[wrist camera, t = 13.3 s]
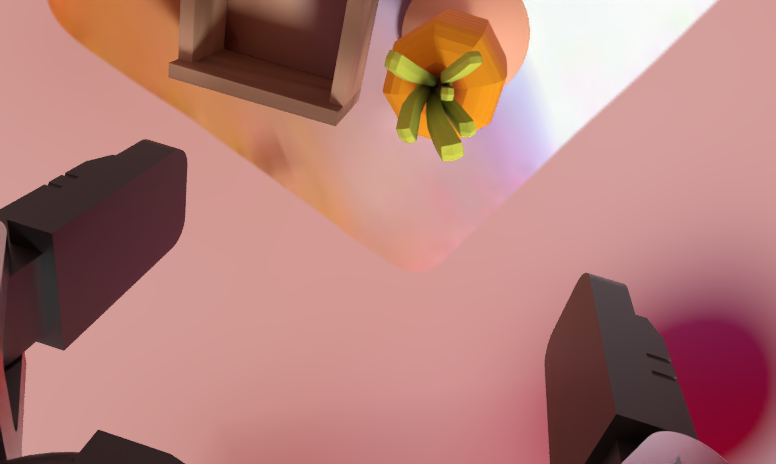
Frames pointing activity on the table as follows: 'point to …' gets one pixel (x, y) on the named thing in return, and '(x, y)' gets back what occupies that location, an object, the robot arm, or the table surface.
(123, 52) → the table surface
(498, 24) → the peach dome
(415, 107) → the carrot
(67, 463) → the robot arm
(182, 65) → the brown open box
